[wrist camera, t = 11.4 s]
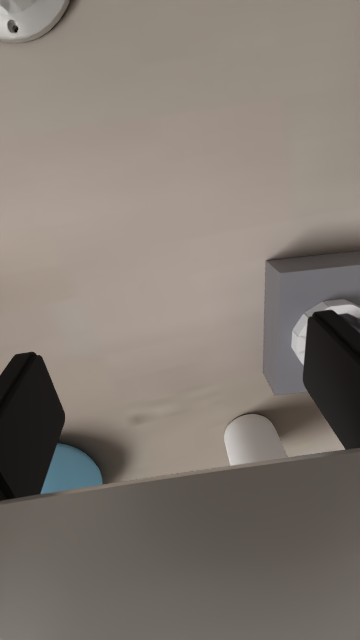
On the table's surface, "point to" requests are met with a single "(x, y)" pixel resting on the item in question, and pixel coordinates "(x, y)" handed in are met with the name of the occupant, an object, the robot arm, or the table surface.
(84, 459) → the sugar bowl
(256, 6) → the table surface
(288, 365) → the camera body
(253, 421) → the pill bottle
